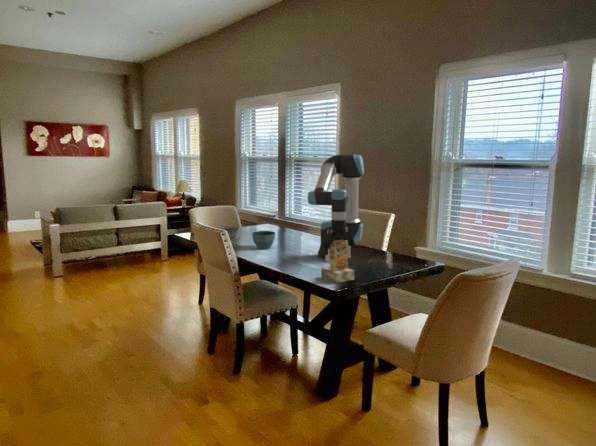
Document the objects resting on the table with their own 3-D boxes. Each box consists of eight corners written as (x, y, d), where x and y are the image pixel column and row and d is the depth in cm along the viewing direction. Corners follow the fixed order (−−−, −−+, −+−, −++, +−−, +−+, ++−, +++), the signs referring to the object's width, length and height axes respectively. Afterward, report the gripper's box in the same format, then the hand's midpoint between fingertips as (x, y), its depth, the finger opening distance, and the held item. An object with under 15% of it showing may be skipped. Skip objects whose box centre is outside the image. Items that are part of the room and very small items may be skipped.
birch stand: (339, 273, 239) (339, 265, 238) (354, 279, 228) (354, 270, 227) (321, 277, 233) (321, 268, 232) (336, 283, 222) (336, 273, 221)
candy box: (334, 271, 226) (335, 242, 223) (329, 269, 229) (330, 240, 227) (347, 268, 230) (348, 240, 228) (342, 266, 234) (343, 239, 232)
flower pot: (278, 249, 300) (278, 234, 298) (255, 251, 295) (255, 235, 293) (271, 245, 315) (271, 230, 313) (249, 246, 310) (249, 231, 308)
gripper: (352, 216, 235) (352, 254, 238) (314, 220, 222) (314, 260, 225) (361, 218, 229) (360, 257, 232) (323, 222, 216) (322, 263, 219)
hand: (338, 259), depth 229 cm, fingers open, 13 cm apart
